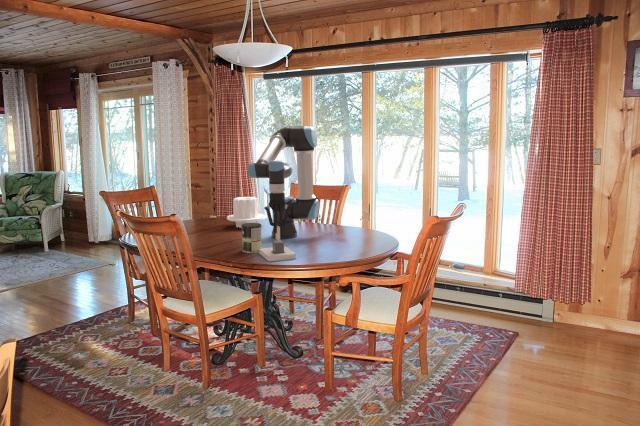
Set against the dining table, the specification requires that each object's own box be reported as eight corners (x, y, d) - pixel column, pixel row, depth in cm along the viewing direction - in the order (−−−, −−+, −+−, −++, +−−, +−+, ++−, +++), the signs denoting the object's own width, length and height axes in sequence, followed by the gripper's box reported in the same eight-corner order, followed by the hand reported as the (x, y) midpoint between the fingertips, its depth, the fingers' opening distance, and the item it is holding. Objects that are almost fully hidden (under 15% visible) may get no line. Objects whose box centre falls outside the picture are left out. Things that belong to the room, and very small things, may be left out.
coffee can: (241, 253, 269) (240, 226, 267) (242, 248, 279) (242, 222, 277) (261, 252, 270) (261, 226, 267) (262, 248, 280) (261, 222, 278)
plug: (272, 256, 262) (272, 240, 260) (281, 255, 263) (281, 239, 262) (275, 258, 258) (275, 242, 256) (284, 257, 259) (283, 241, 258)
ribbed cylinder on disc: (219, 228, 339) (218, 199, 336) (244, 222, 360) (243, 194, 357) (249, 231, 326) (248, 201, 323) (273, 225, 347) (272, 197, 344)
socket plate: (259, 253, 269) (259, 247, 268) (285, 250, 274) (285, 244, 273) (268, 261, 252) (268, 254, 251) (296, 258, 257) (295, 252, 256)
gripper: (266, 193, 250) (267, 241, 254) (292, 192, 255) (292, 239, 258) (262, 192, 257) (263, 238, 261) (287, 190, 261) (288, 236, 265)
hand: (277, 239), depth 259 cm, fingers closed
